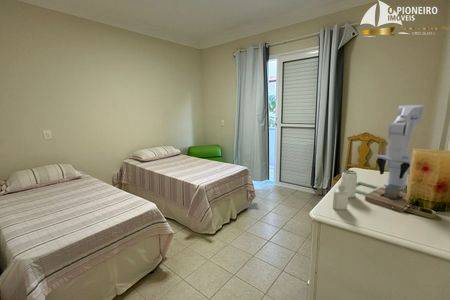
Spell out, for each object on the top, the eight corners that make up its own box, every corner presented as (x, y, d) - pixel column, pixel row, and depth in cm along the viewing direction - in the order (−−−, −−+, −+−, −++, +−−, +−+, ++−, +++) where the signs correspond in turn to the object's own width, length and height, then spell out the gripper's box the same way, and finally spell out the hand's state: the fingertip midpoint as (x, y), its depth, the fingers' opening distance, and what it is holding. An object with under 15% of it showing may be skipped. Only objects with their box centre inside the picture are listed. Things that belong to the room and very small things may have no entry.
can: (357, 198, 98) (360, 174, 96) (342, 197, 99) (344, 173, 97) (351, 192, 104) (354, 170, 102) (337, 192, 106) (340, 169, 103)
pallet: (381, 190, 106) (382, 187, 105) (417, 200, 94) (418, 196, 94) (364, 200, 96) (365, 196, 96) (402, 212, 85) (403, 207, 84)
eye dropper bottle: (348, 211, 86) (351, 184, 84) (333, 209, 88) (335, 183, 86) (346, 206, 90) (349, 180, 88) (331, 205, 92) (334, 179, 90)
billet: (388, 197, 98) (390, 183, 97) (398, 200, 95) (400, 186, 93) (383, 200, 95) (385, 186, 94) (394, 203, 92) (396, 189, 91)
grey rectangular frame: (358, 183, 116) (358, 181, 116) (380, 189, 108) (381, 187, 107) (345, 188, 109) (345, 186, 109) (368, 195, 100) (368, 193, 100)
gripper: (373, 147, 101) (370, 173, 104) (412, 152, 89) (407, 182, 92) (380, 145, 105) (376, 171, 107) (417, 150, 93) (412, 178, 95)
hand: (391, 176), depth 100 cm, fingers open, 7 cm apart
